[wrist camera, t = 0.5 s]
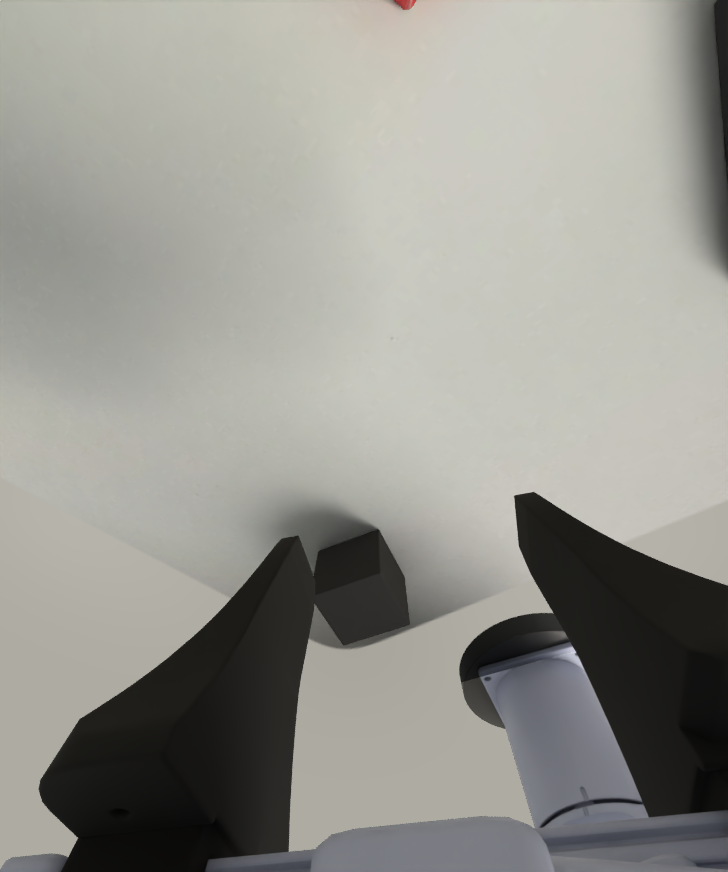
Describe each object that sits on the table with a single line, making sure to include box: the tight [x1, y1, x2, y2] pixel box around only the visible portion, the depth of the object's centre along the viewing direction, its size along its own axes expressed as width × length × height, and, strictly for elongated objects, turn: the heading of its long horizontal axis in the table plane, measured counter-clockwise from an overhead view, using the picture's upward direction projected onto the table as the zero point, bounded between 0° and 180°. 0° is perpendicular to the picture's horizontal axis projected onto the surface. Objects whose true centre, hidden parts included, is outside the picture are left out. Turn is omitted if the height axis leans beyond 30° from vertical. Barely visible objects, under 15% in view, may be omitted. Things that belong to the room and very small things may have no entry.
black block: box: [314, 530, 410, 645], centre depth 22 cm, size 4×4×4 cm
